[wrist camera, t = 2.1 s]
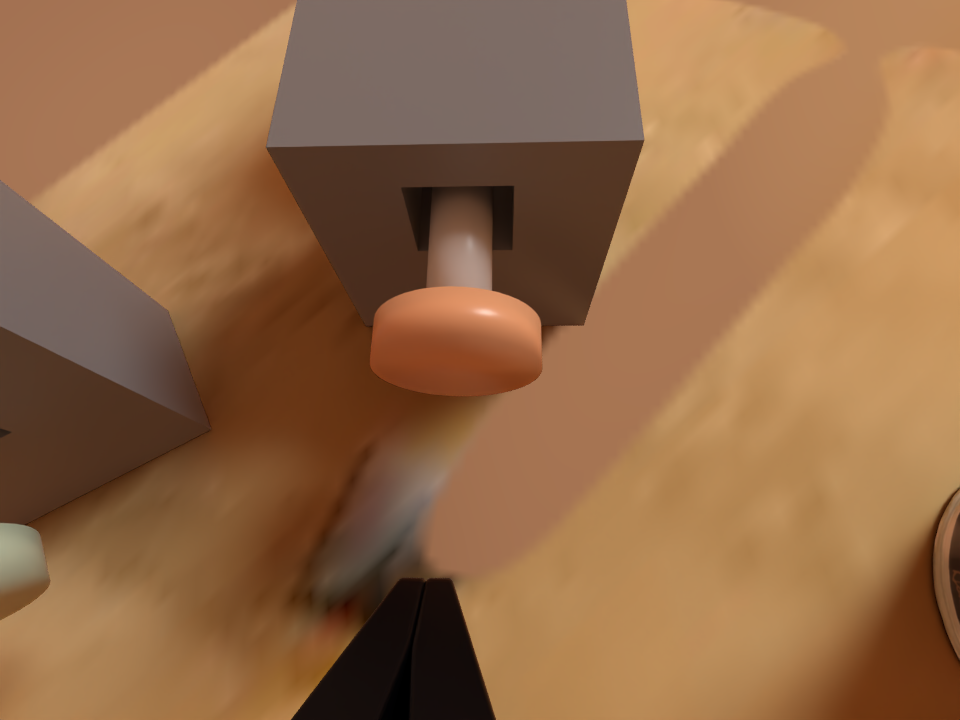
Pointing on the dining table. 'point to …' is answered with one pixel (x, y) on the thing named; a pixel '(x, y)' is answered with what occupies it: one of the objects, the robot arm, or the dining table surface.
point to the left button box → (79, 369)
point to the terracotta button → (457, 312)
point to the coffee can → (949, 570)
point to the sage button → (21, 567)
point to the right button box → (461, 137)
